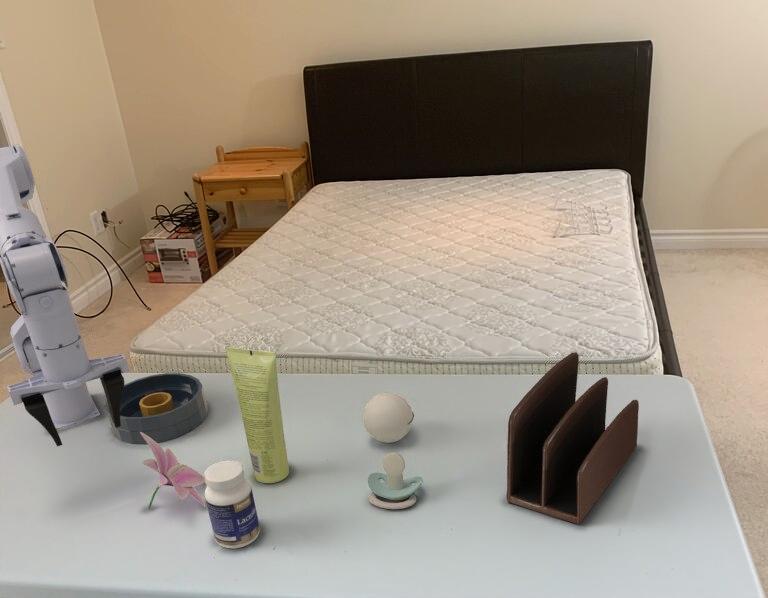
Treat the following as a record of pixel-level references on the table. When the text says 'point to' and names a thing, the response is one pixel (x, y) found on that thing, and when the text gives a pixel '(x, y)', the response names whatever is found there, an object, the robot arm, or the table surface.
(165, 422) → the bowl
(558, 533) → the table surface
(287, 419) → the table surface
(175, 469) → the lily
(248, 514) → the pill bottle
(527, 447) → the letter holder
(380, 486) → the pacifier
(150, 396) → the ring
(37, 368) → the robot arm
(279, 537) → the table surface
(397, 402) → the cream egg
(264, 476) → the tube
